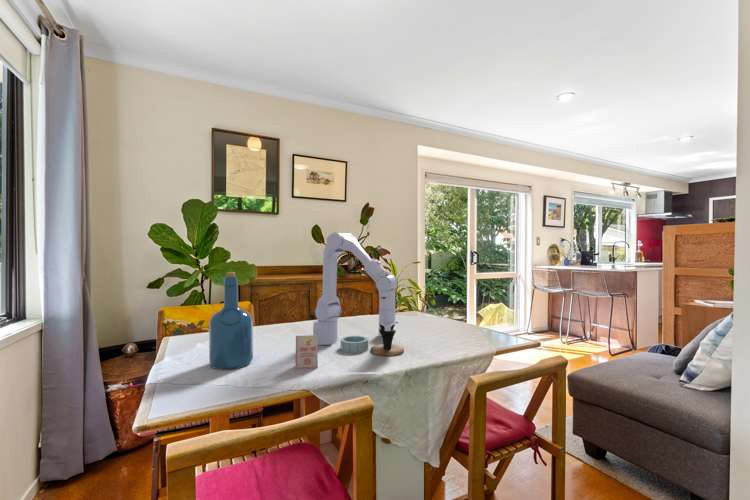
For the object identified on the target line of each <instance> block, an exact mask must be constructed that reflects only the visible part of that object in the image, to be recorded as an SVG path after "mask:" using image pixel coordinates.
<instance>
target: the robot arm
mask: <svg viewBox="0 0 750 500" xmlns="http://www.w3.org/2000/svg"><path fill="white" fill-rule="evenodd" d="M365 250H366V249H364V248H363V247H362V246H361V244H360V243H359V242H358V239H357V238H356V237H355V236H354V235H353V234H352V233H350V232H336V231H334V232H331V233H330V234H328V236H327V237H326V243H325V246H324V249H323V254H322V255H323V258H322V286H321V287H322V289H321V290H322V293H321V296H320V298H318V300H317V304H316V308H315V310H314V315H315V317H316V319H315V320H314V321H313V327H312V335H317V340H318V346H332V345H338V344H339V341H340V338H338V336H339V334H338V333H339V331H338V327H339V326H338V321H339V316H340V315H341V314H342V307H341V304H340V303H341V302H340V298H339V297H338V296H337V283H338V282H337V280H338V257H339V255H340V254H342V253H344V252H345V251H347V252H351V254H353V255H354V257H356V258H357V259H358V260H359V261H360V263H362V264H363V265H364V271H365V272H366V273H367V274H368V276H369V277H370V278H371V279H372V280H373V281H374V283H375V286H376V289H377V291H378V295H379V297H378V299H379V302H378V305H379V308H378V325H379V324H380V327H381V329H379V328H378V333H379V332H380V334H381V336H382V337H381V336H380V337H381V338H382V344H383V345H384V349H385V350H390V349H391V345H392V343H393V339H394V336H395V334H396V332H397V331H396V329H395V326H396V324H399V320H398V319H396V289H397V287H399V282H398V278H397V277H396V275H395V274H391V273H390V271H388V270H387V269H385V267H384V266H383V265H382V262H381V260H377V259H372V257H371V256H370V255H369V254H368V253H367V252H366V251H365ZM393 328H394V330H393Z"/></svg>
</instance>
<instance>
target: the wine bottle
mask: <svg viewBox="0 0 750 500" xmlns="http://www.w3.org/2000/svg"><path fill="white" fill-rule="evenodd" d="M225 275H226V276H224V279H223V289H224V290H223V306H222V308H221V309H220V310H218V311H216V312H215V313H214V314H212V315H211V316H210V319H209V320H208V344H209V347H208V348H209V349H208V352H209V353H208V355H209V357H208V358H209V359H208V360H209V361H208V363H209V364H210V366H211V367H212V368H213V369H217V370H234V369H239V368H243V367H245V366H247V365H250V364H251V363H252V360H253V358H254V334H253V333H254V332H253V331H254V322H253V316H252V314H251V313H250V312H249V311H247V310H245V309H243V308H241V307H240V306H239V294H238V293H239V291H238V290H239V289H238V287H239V282H238V277H237V275H236V272H234V271H228V272H226V274H225Z"/></svg>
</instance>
